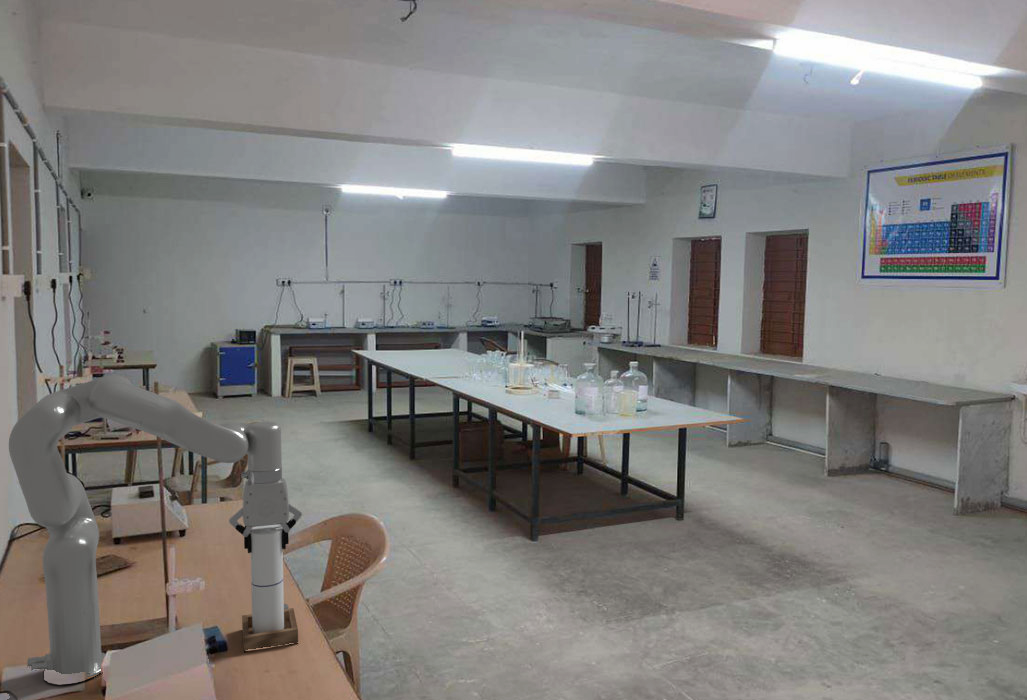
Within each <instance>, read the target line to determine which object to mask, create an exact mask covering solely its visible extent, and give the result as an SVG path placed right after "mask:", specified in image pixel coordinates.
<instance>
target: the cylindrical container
mask: <svg viewBox="0 0 1027 700" xmlns="http://www.w3.org/2000/svg"><path fill="white" fill-rule="evenodd" d="M282 529H283V528H282V526H281V525H280V524H277V525H267V526H257V527H252V529H251V531H250V536H251V553H250V572H251V573H250V576H251V579H250V580H251V581H250V585H251V614H252V627H253V634H256V633H262V632H269V631H275V630H281V629H284V604H285V603H284V599H285V598H284V597H285V596H284V562H283V561H284V558H283V557H284V555H283V554H284V553H283V552H284V551H283V550H284V549H283V548H282Z"/></svg>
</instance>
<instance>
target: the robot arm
mask: <svg viewBox="0 0 1027 700" xmlns="http://www.w3.org/2000/svg"><path fill="white" fill-rule="evenodd" d="M99 418H104V419H106V420H109V421H111V422H115V423H118V424H121V425H123V426H127V427H130V428H131V429H134V430H135V429H136V430H138V431H141V432H143V433H147V434H149V435H152V436H155V437H158V438H160V439H162V440H163V441H166V442H168V443H170V444H173V445H175V446H177V447H179V448H182V449H183V450H186V451H189V452H191V453H194V454H196V455H198V456H202V457H203V458H208V459H210V460H212V461H215V462H220V463H223V464H234V463H237V462H239V461H241V460H242V459H243V458H244V457H245V456H246V455H247V469H246V471H243V472H240V474H241V477H240V478H241V479H246V480H247V481H245V483H244V487H243V495H242V496H243V497H242V507H241V508H240V509H239V510H238V511H237V512H236V513H234V514H233V515H232V516H230V518H229V520H228V523H229V524H230V525H231V526H232V527H233V528H234V529H235V530H236V531H237V532H239V533H240V534H241V536H243V538H244V539H243V546H244V548H243V549H244V550H247V554H251V536H250V531H251V529H252V528H254V527H257V526H267V525H279V526H281V527H282V548H283V550H286V549H287V545H289V538H290V537H289V532H290V531H291V529H293V527H294V526H295V525H296V524H297V522H298V521H299V519H300V518H301V517H302V515H303V513H302V511H301V510H299V509H297V508H296V507H294V506H293V505H291V504H290V502H289V493H288V487H287V482H286V481H287V480H286V479H285V478H283V467H282V465H283V464H282V458H283V457H282V428H281V426H280V424H279V423H277V422H274V421H257V422H254V423H247V422H246V423H245V422H235V421H233V422H229V421H228V422H224V423H220V424H217V423H215V422H212V421H209V420H207V419H204V418H203V417H201V416H198V415H197V414H195V413H194V412H192V411H191V410H189V409H188V408H186V407H185V406H184V405H183V404H181V403H180V402H178V401H177V400H174V399H172V398H169V397H166V396H163V395H161V394H158V393H155V392H152V391H149V390H147V389H144V388H142V387H139V386H136V385H133V384H132V382H131V381H130V380H129V379H128V378H126V377H124V376H122V375H119V374H109V375H103V376H101V377H99V378H98V377H97V378H95V379H93V380H89V381H86V382H83V383H80V384H76V385H74V386H69V387H66V388H63V389H61V390H56V391H54V392H52V393H50V394H47V395H45V396H43V397H42V398H41V399H40V400H39V401H37V402H36V403H35V404H33V406H32V407H31V408H29V409H28V410H27V411H26V412H25V413H24V414H23V415H22V416H21V417H20V418H19V419H18V420H17V421H16V423H15V424H14V426H13V427H12V430H11V431H10V434H9V438H8V451H9V457H10V459H11V460H10V461H11V462H12V466H13V469H14V472H15V473H16V476H17V480H18V484H19V486H20V489H21V491H22V494H23V496H24V499H25V500H24V501H25V503H26V506H27V509H28V513H29V515H30V517H31V519H32V520H33V522H35V523H36V524H37V525H38V526H41V527H44V528H46V531H47V533H48V536H49V537H48V539H47V542H46V544H45V546H44V550H43V554H42V571H43V578H44V582H45V592H46V607H47V620H48V639H49V653H45V654H44V655H41V656H33V657H29V658H27V663H26V664H27V665H26V666H27V667H28V666H31V667H30V669H31V671H32V670H33V669H40V670H44V669H47V670H55V671H56V672H59V673H61V674H72V673H74V674H75V673H80V672H86V674H89V675H86V676H85V677H90V676H94V675H96V674H99V673H100V671H101V663H102V661H103V658H104V656H105V654H106V653H105V652H102V641H101V625H100V623H101V622H100V621H101V620H100V605H99V589H98V588H99V587H98V575H97V563H96V560H97V559H96V556H97V551H98V550H97V549H98V544H99V541H100V530H99V526H98V523H97V520H96V517H95V514H94V512H93V509H92V506H91V503H90V500H89V498H88V495H87V492H86V489H85V487H84V486H83V484H82V482H81V481H80V480H79V479H78V477H76V476H75V475H73V474H71V473H67V469H66V467H65V464H64V460H63V458H62V456H61V454H60V452H59V448H58V444H59V441H60V439H61V438H63V437H64V436H66V435H67V434H68V433H70V431H71V430H72V429H73V428H74V427H76V426H78V425H80V424H81V425H82V424H83V423H84V424H85V423H88V422H90V421H93V420H96V419H99ZM290 513H291V514H293V516H292V518H291V519H290ZM241 518H242V520H243V524H244V526H243V525H242V524H241V523H240V522H239V520H240V519H241Z"/></svg>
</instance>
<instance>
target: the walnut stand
mask: <svg viewBox="0 0 1027 700" xmlns="http://www.w3.org/2000/svg"><path fill="white" fill-rule="evenodd" d="M241 620H242V622H241V625H242V626H241V628H242V629H243V630H242V642H243V643H242V645H243V646H242V647H244V648H243V651H244V650H248V649H256V648H263V647H271V646H278V645H285V644H289V643H297V642H298V643H299V628H298V624H297V619H296V614H295V609H294V608H293V607H292V608H290V607H289V608H288V609H284V629H281V630H275V631H269V632H262V633H256V634H253V627H252V613H249V614H243V615H241Z"/></svg>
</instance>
